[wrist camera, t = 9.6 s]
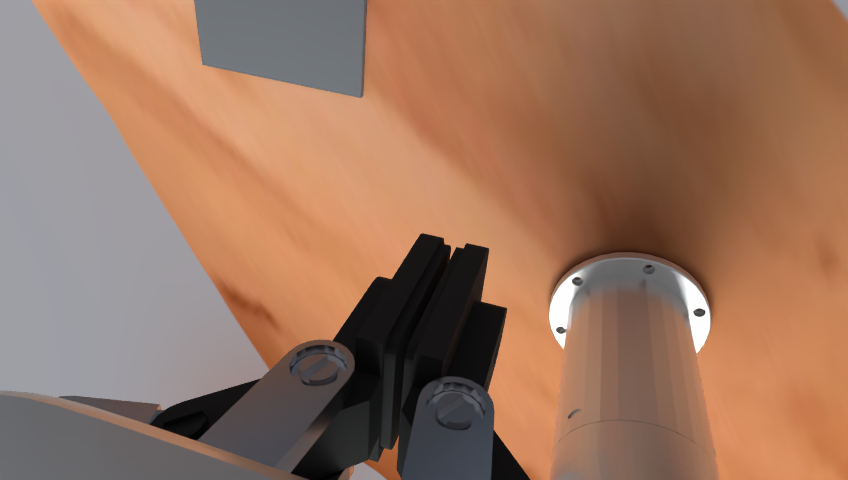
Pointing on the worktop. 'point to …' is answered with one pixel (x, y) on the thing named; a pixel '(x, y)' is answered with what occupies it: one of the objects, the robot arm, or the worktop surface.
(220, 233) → the worktop surface
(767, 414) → the worktop surface
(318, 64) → the mat
